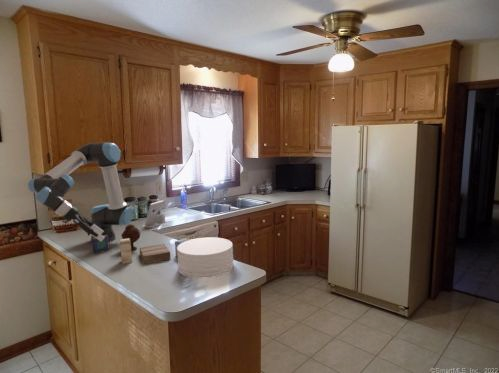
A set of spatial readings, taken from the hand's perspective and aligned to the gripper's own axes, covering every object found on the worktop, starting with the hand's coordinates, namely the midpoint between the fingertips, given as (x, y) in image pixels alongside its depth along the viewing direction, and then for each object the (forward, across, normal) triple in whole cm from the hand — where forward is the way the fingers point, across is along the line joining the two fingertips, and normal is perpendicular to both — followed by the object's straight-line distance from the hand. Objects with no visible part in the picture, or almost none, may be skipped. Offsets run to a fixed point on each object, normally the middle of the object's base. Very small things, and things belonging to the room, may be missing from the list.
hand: (102, 236), depth 179 cm
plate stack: (+45, +28, +22) cm, 57 cm away
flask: (+10, -25, -12) cm, 30 cm away
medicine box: (+40, +5, +18) cm, 44 cm away
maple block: (+19, 0, -4) cm, 19 cm away
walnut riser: (+29, 0, +7) cm, 30 cm away
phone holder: (+38, -73, +16) cm, 84 cm away
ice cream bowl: (+22, -20, 0) cm, 30 cm away
